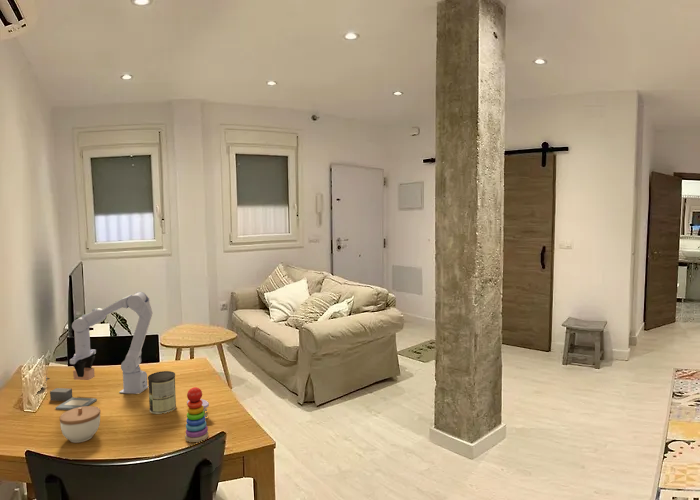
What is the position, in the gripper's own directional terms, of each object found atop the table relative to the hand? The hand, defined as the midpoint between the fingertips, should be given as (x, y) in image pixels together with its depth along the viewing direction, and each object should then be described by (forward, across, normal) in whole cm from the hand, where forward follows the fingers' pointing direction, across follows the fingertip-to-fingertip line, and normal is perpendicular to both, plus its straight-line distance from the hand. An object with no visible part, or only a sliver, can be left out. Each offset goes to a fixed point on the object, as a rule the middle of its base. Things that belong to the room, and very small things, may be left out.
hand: (84, 374), depth 207 cm
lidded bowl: (+9, +38, +25) cm, 46 cm away
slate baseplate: (+8, +12, +4) cm, 15 cm away
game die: (+9, -3, -25) cm, 27 cm away
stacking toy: (+9, +33, +66) cm, 74 cm away
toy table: (+9, +16, +59) cm, 62 cm away
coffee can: (+9, +12, +42) cm, 44 cm away
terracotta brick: (+2, 0, 0) cm, 2 cm away
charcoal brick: (+9, +7, -6) cm, 12 cm away
